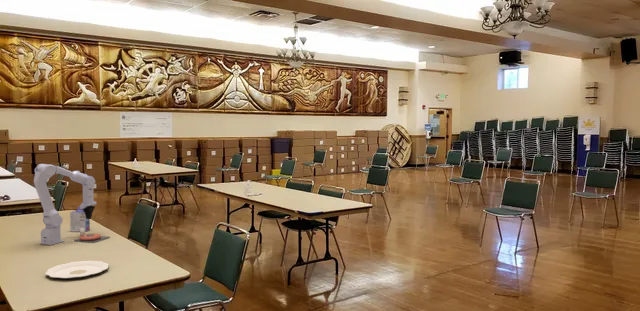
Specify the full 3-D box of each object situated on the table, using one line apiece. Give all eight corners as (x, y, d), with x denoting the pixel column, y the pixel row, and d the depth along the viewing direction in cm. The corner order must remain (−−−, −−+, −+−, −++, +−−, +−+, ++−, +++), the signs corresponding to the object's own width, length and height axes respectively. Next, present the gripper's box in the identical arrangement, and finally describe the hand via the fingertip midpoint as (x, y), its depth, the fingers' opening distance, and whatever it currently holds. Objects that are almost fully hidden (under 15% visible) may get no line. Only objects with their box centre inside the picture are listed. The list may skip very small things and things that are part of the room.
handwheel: (102, 235, 280) (101, 225, 279) (99, 239, 269) (99, 229, 269) (81, 236, 277) (81, 226, 276) (77, 240, 266) (77, 230, 266)
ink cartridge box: (90, 230, 299) (89, 207, 298) (86, 232, 293) (85, 208, 292) (74, 229, 299) (74, 206, 298) (70, 231, 293) (69, 208, 292)
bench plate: (93, 243, 266) (93, 241, 266) (73, 241, 270) (73, 239, 270) (109, 237, 278) (109, 236, 278) (90, 236, 282) (90, 234, 282)
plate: (92, 261, 232) (92, 257, 231) (119, 271, 216) (119, 267, 216) (36, 273, 212) (36, 269, 212) (60, 285, 196) (60, 281, 196)
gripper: (88, 194, 290) (88, 216, 291) (74, 197, 276) (75, 221, 277) (99, 194, 290) (100, 216, 291) (86, 198, 275) (87, 221, 276)
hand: (88, 218), depth 284 cm, fingers closed
